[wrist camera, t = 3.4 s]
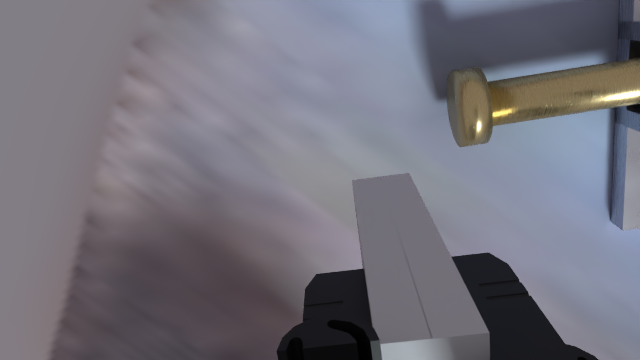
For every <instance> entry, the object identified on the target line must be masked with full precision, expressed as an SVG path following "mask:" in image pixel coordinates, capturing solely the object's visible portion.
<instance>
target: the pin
mask: <svg viewBox="0 0 640 360" xmlns="http://www.w3.org/2000/svg"><path fill="white" fill-rule="evenodd" d="M634 104H640V58H634V59H628V60H622V61H615V62H609V63H603V64H596V65H590V66H584V67H578V68H571V69H565V70H559V71H552V72H546V73H540V74H534V75H527V76H521V77H515V78H508V79H502V80H496V81H490V82H487V79H486V77H485V75H484V73H483V71H482V70H481V69H480V68H479V67H473V68H466V69H460V70H454V71H451V72H450V73H449V75H448V80H447V108H448V115H449V121H450V126H451V130H452V133H453V136H454V139H455V141H456V143H457V144H458V146H460V147H465V146H472V145H478V144H485V143H487V142H488V141H489V140H490V137H491V134H492V127H493V126H497V125H503V124H510V123H516V122H523V121H529V120H536V119H542V118H549V117H555V116H562V115H569V114H575V113H582V112H588V111H595V110H601V109H608V108H614V107H621V106H627V105H634Z"/></svg>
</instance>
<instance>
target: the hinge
mask: <svg viewBox="0 0 640 360" xmlns="http://www.w3.org/2000/svg"><path fill="white" fill-rule="evenodd" d="M634 58H640V0H620V13H619V37H618V61H622V60H628V59H634ZM611 222H612V223H613V224H614V225H616V226H617V227H619V228H620V229H621V230H631V229H638V228H640V104H634V105H627V106H621V107H616V110H615V135H614V159H613V184H612V208H611Z"/></svg>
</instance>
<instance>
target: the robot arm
mask: <svg viewBox="0 0 640 360" xmlns="http://www.w3.org/2000/svg"><path fill="white" fill-rule="evenodd" d="M352 185H353V193H354V201H355V209H356V217H357V225H358V233H359V241H360V249H361V257H362V265H363V269H357V270H349V271H340V272H331V273H323V274H316V275H315V277H314V278H313V279H312V281H311V282H310V283H309V285H308V286H307V287H306V289H305V299H304V311H303V323H301V324H299V325H297V326H295V327H293V328H292V329H291V330H290V331H289V332H288V333H287V334H286V335H285V336H284V337H283V338H282V340H281V342H280V345H279V347H278V349H277V355H278V360H598V359H597V358H596V357H595V356H593V355H591V354H589V353H587V352H585V351H583V350H581V349H579V348H577V347H575V346H571V345H567V344H565V343H564V342H563V340H562V339H561V338H560V336H559V335H558V333H557V332H556V331H555V329H554V328H553V326H552V325H551V324H550V322H549V321H548V319H547V318H546V317H545V315H544V314H543V312H542V311H541V310H540V308H539V307H538V305H537V304H536V303H535V301H534V300H533V298H532V297H531V296H529V294H528V291H527V290H526V289H525V287H524V286H523V284H522V283H520V282H519V279H518V277H517V276H516V275H515V273H514V272H513V270H512V269H511V268H510V266H509V265H508V264H507V263H505V262H504V261H502V260H500V259H499V258H497V257H495V256H494V255H492V254H490V253H481V254H472V255H463V256H454V257H451V255H450V253H449V251H448V249H447V247H446V246H445V244H444V242H443V240H442V238H441V236H440V234H439V232H438V230H437V228H436V226H435V224H434V222H433V220H432V218H431V216H430V214H429V212H428V210H427V208H426V206H425V204H424V202H423V200H422V198H421V196H420V194H419V192H418V190H417V188H416V186H415V184H414V182H413V180H412V178H411V176H410V174H409V173H406V174H398V175H390V176H382V177H374V178H366V179H358V180H352Z"/></svg>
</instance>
